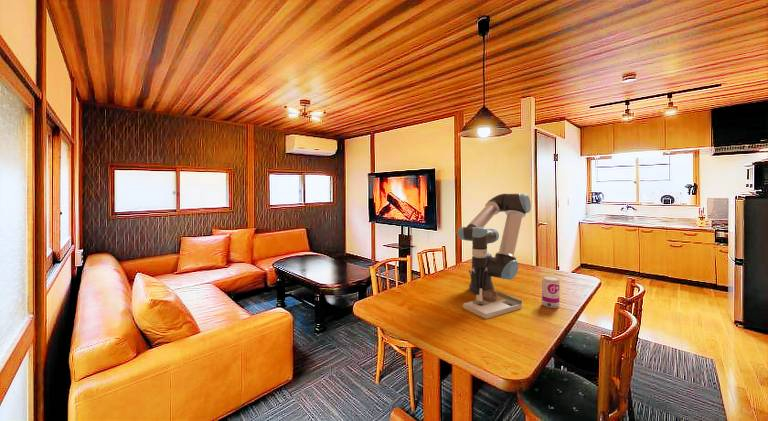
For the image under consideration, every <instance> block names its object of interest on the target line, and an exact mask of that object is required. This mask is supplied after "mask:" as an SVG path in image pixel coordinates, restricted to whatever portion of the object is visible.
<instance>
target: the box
mask: <svg viewBox="0 0 768 421" xmlns="http://www.w3.org/2000/svg"><path fill="white" fill-rule="evenodd" d="M496 292H497V301H495V302H491V303H489V302H487V301H484V300H483V298H482V301H479V300H476V299H475V300H471V301H468V302H464V303H463V306H462V307H463V308H462V309H465V310H467V311H468V312H471V313H473V314H475V315H476V316H477V315H478V316H479V317H481V318H484V319H485V320H487V319H491V318H494V317H497V316H500V315H505V314H507V313H511V312H513V311H517V310H521V309H522V308H523V304H522V303H523V301H522V299H520V298H517V297H514V296H511V295H509V294H507V293H503V292H501V291H496Z"/></svg>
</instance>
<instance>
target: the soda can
mask: <svg viewBox="0 0 768 421" xmlns="http://www.w3.org/2000/svg"><path fill="white" fill-rule="evenodd" d="M541 281H542V284H541V285H542V287H541V288H542V289H541V304H542V305H543V307H545V308H550V309H557V308H559V307H560V296H561V295H560V290H561V288H560V286H561V282H560V280H559V278H558V277H554V276H544V277H543V279H542V280H541Z"/></svg>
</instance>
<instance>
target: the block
mask: <svg viewBox="0 0 768 421" xmlns="http://www.w3.org/2000/svg"><path fill="white" fill-rule="evenodd" d="M482 299H483V300H484V301H487V302H489V303H491V302H495V301H497V291H495V290H494V291H492V290H486V291H483V294H482Z"/></svg>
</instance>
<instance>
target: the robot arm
mask: <svg viewBox="0 0 768 421" xmlns="http://www.w3.org/2000/svg"><path fill="white" fill-rule="evenodd" d="M531 208H532V202H531V199H530V196H529V195H528V194H526V193H520V192H519V193H500V194H498V195H495V196H494V197H491V198H490V199H489V200H488V201H487V202H486V203H485V206H484V208H483V209H482V210H480V211H479V213H478V214H477V215H476V216H475V217H474V218H473V219H472V220H471V221H470V222H469V223H468V224H467V226H466V227H465V226H460V227H459V228H458V230H457V237H458V239H460V240H463V241H467V242H468V241H469V242H472V248H471V249H472V251H471V253H472V254H471V255H472V256H471V270H468V273H469V275H470V283H469V285H468V291H469V292H471V293H474V294H475V295H476V296H475V297H476V298H475V300H479V301H482V299H483V291H486V290H492V291H495V287H494V283H493V281H492V280H493V279H492V277H493V278H498V279H501V280H509V281H510V280H513V279H514V278H515V277H516V276H517V274H518V271H519V262H518V261H517V257H516V256H515V253H516V252H515V251H516V247H517V243H518V238H519V233H520V230H521V225H522V220H523V219H524V218H526V214H528V213H530V212H531ZM503 212H504V214H505V215H506V219H505V222H504V227H503V228H504V229H503V232H502V236H501V240H500V241H501V242H500V245H499V250H498V251H497V252H496V253H495V255H494V256H493V254H492V253H488V245H489V244H493V243H495V242H497V241H499V238H500V234H499V232H498V230H497V229H495V228H487V227H485V226H486V225H487V224H488V223H489V222H490V221H491V219H492V218H493V217H494V216H495V215H496V216H497V215H498V214H499V213H503Z"/></svg>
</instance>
